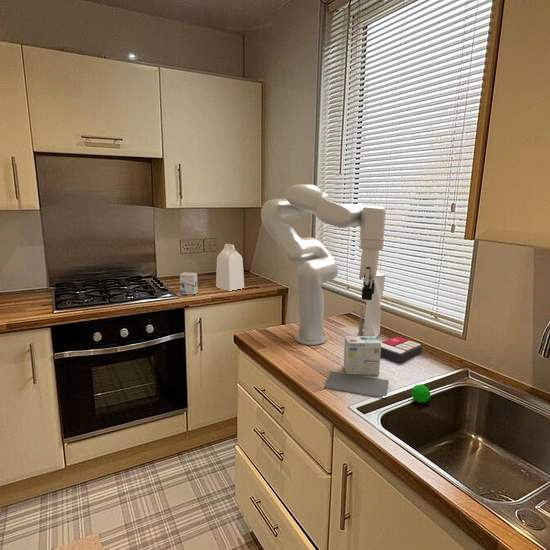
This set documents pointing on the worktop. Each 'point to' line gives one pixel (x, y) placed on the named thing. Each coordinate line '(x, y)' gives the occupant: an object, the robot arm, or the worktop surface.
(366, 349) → the light bulb box
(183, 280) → the ink box
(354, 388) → the mat
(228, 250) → the milk
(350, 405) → the worktop surface
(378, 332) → the skyscraper
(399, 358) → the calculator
